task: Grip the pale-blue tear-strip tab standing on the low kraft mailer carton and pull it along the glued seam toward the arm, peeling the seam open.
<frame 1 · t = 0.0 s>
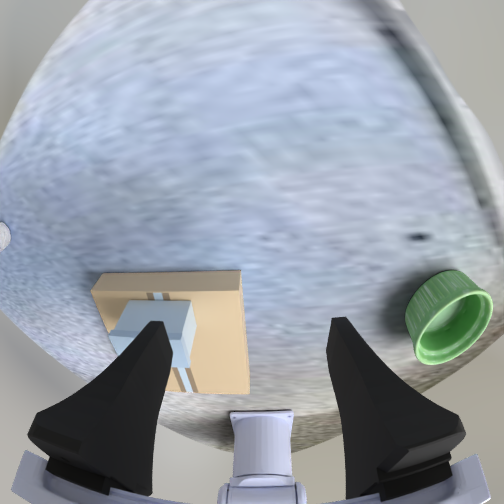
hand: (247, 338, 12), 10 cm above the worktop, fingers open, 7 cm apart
ramekin: (436, 301, 24), on the worktop
lightbulb: (8, 229, 21), on the worktop
tab: (155, 331, 19), point 5 cm above the worktop, slide at 0.0 cm
carton: (181, 331, 26), on the worktop
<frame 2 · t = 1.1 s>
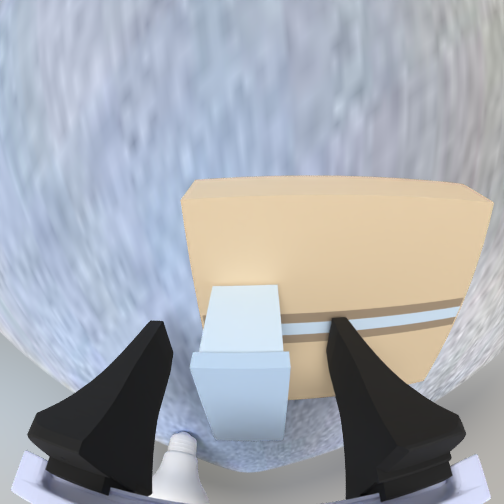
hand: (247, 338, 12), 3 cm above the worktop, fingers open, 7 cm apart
lightbulb: (185, 431, 23), on the worktop
tab: (246, 368, 11), point 5 cm above the worktop, slide at 0.0 cm
carton: (336, 291, 15), on the worktop
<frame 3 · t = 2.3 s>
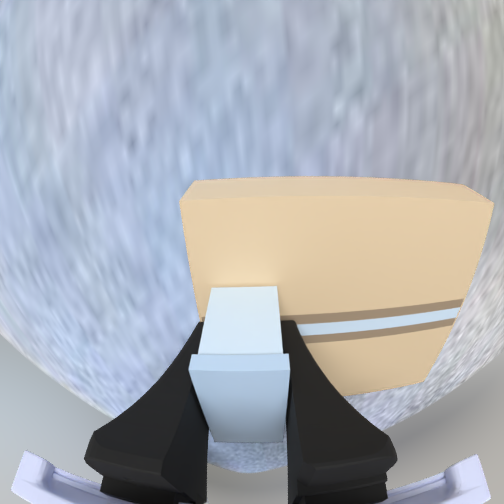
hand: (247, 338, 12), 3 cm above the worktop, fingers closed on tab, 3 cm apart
tab: (246, 370, 11), point 5 cm above the worktop, slide at 0.0 cm, touching gripper
carton: (336, 292, 15), on the worktop
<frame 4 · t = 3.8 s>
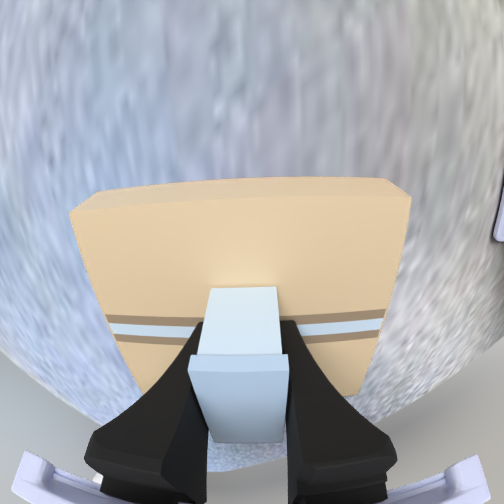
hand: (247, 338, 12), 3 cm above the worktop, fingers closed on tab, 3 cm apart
tab: (245, 370, 11), point 5 cm above the worktop, slide at 4.7 cm, touching gripper
carton: (243, 296, 15), on the worktop
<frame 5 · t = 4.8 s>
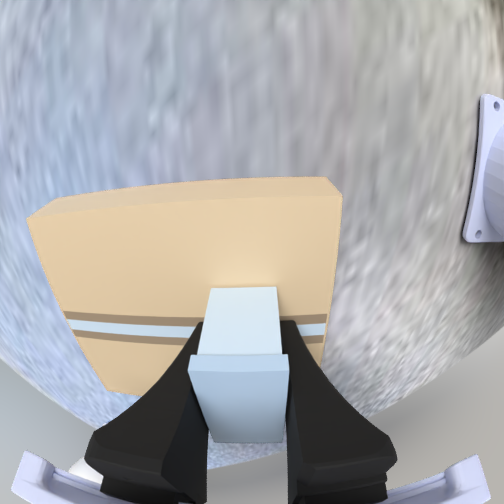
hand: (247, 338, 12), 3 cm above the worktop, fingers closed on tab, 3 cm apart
lightbulb: (116, 422, 24), on the worktop
tab: (245, 370, 11), point 5 cm above the worktop, slide at 7.5 cm, touching gripper
carton: (190, 296, 15), on the worktop
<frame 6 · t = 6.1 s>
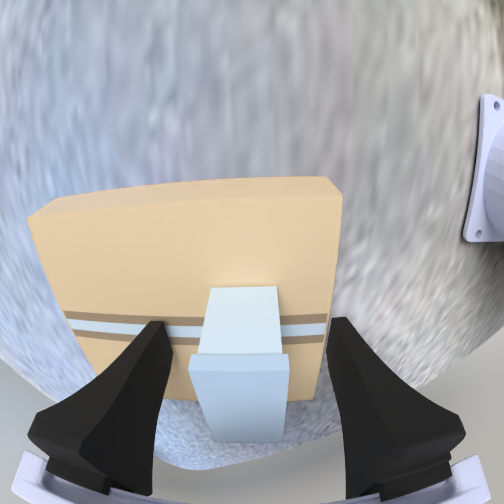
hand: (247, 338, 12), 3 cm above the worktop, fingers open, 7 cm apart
tab: (245, 370, 11), point 5 cm above the worktop, slide at 7.5 cm
carton: (191, 296, 15), on the worktop
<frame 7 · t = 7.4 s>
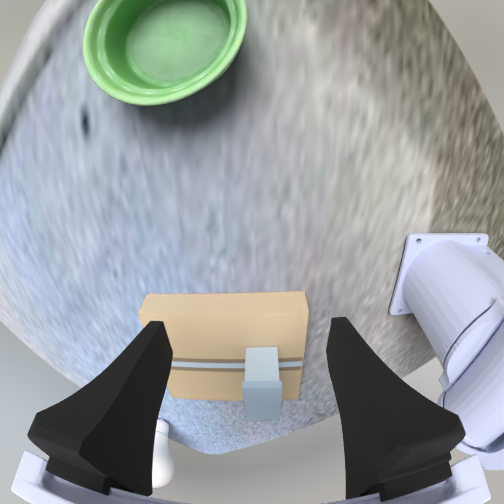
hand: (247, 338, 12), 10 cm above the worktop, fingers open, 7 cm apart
ramekin: (178, 40, 14), on the worktop
lightbulb: (161, 418, 35), on the worktop
tab: (262, 385, 22), point 5 cm above the worktop, slide at 7.5 cm
carton: (229, 344, 26), on the worktop
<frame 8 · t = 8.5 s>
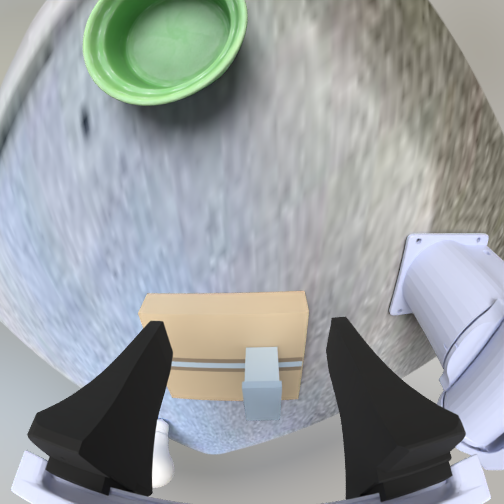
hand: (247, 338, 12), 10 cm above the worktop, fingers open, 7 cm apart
ramekin: (178, 40, 14), on the worktop
lightbulb: (161, 418, 35), on the worktop
tab: (262, 385, 22), point 5 cm above the worktop, slide at 7.5 cm
carton: (229, 344, 26), on the worktop
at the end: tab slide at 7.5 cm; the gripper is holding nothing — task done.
